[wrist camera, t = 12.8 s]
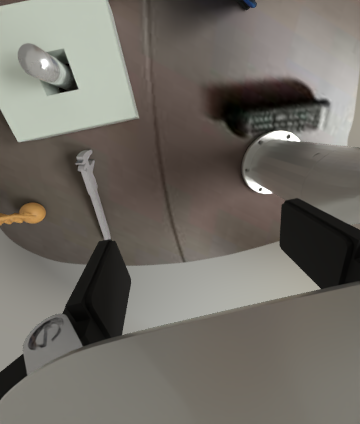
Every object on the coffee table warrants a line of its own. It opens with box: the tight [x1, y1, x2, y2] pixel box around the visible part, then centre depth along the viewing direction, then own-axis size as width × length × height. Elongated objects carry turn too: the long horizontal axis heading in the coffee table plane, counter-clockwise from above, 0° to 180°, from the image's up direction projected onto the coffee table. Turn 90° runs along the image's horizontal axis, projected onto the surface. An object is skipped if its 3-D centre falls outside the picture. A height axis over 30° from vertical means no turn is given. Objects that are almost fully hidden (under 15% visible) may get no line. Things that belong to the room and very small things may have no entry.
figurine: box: [0, 203, 46, 225], centre depth 31 cm, size 8×6×12 cm
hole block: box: [0, 0, 139, 142], centre depth 27 cm, size 18×14×5 cm
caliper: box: [75, 150, 111, 240], centre depth 35 cm, size 20×1×6 cm, turn 1°
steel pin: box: [18, 43, 78, 91], centre depth 25 cm, size 3×3×10 cm
